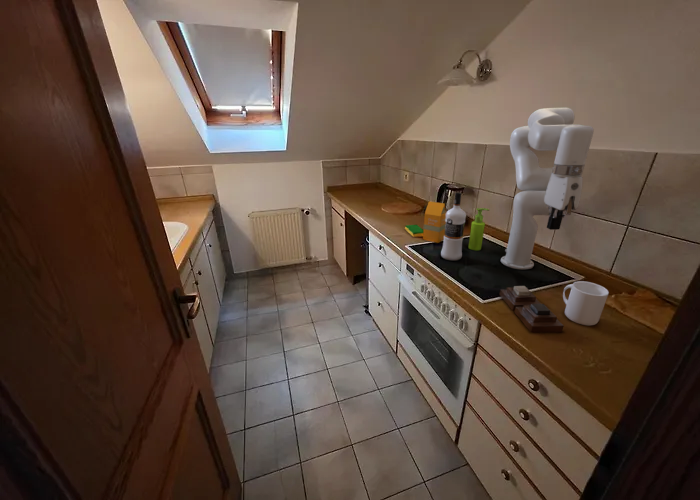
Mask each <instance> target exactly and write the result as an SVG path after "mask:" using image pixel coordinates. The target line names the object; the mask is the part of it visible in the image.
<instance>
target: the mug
mask: <svg viewBox="0 0 700 500" xmlns="http://www.w3.org/2000/svg"><path fill="white" fill-rule="evenodd" d="M568 289H570V292H569V296H568V298H567V297H566V295H565V294H566V293H565V292H566V291H567V290H568ZM609 293H610V292H609V290H608V289H607V288H606V287H604V286H602V285H600V284H598V283H594V282H591V281H584V280H579V281H574V282H573V283H571V284H567V285H566V286H565V287H564V288H563V290H562V299H563V302H564V304H565V309H564V315H565V316H566V317H567V319H569V320H570V321H572V322H574V323H576V324H579V325H583V326H595V325H597V324H598V322H599V321H600V319H601V316H602V313H603V311H604V307H605V304H606V301H607V299H608V296H609Z"/></svg>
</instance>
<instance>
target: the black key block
mask: <svg viewBox="0 0 700 500" xmlns="http://www.w3.org/2000/svg"><path fill="white" fill-rule="evenodd" d="M530 308H531V305H523V307H516V308H515V311H514V314H515V315H516V316H517V318H518V319H519V320H520V321H521V323H523V325H524V326H525V327H526V328H527V329H528V330H529V332H530V333H562V332H563V330H564V327H565V326H564V324H562V322H561V321H560V320H559V319H558V316H556V315H555V313H554V312H552V310H550V314H549V315H536V314H535V313H534V312H533V311H532V310H531V309H530Z"/></svg>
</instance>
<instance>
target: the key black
mask: <svg viewBox="0 0 700 500" xmlns="http://www.w3.org/2000/svg"><path fill="white" fill-rule="evenodd" d="M530 309H531V310H532V311H533V312H534V313H535V314H536V315H549V314H550V311H551V310H550V308H549V307H547V305H545V304H544V303H541V304H531V308H530Z"/></svg>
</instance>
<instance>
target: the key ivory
mask: <svg viewBox="0 0 700 500" xmlns="http://www.w3.org/2000/svg"><path fill="white" fill-rule="evenodd" d="M513 287H514V289H513V291H514V292H515V293H516V294H517V295H529V294H530V292H531V291H530V289H528V287H526V286H525V285H514V286H513Z"/></svg>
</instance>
